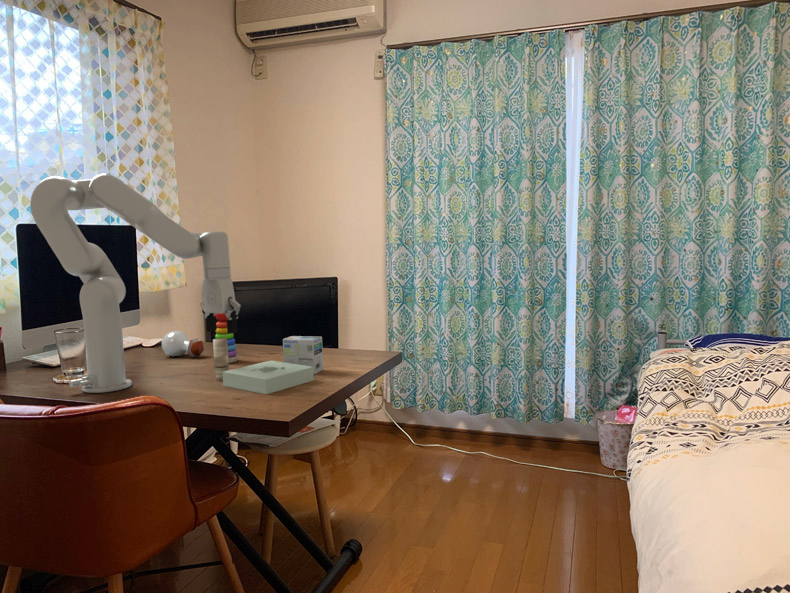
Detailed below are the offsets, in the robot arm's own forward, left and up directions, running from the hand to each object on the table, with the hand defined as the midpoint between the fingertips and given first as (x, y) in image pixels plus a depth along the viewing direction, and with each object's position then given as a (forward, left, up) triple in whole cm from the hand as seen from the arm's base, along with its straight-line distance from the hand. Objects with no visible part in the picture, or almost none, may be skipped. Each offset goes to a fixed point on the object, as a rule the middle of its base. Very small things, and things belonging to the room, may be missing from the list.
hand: (222, 332), depth 170 cm
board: (+3, -16, -14) cm, 21 cm away
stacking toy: (+16, +20, -14) cm, 30 cm away
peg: (-1, 0, -14) cm, 14 cm away
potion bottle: (+15, +42, -14) cm, 47 cm away
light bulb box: (+19, -14, -14) cm, 28 cm away
